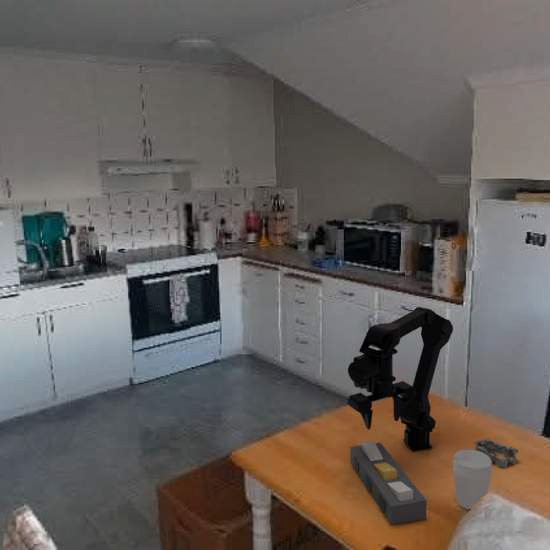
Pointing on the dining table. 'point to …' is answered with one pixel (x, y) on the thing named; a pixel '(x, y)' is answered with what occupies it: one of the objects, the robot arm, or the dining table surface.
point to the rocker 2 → (385, 471)
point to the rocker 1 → (371, 451)
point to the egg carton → (498, 448)
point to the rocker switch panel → (381, 492)
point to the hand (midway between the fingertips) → (382, 424)
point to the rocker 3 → (400, 491)
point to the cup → (471, 476)
